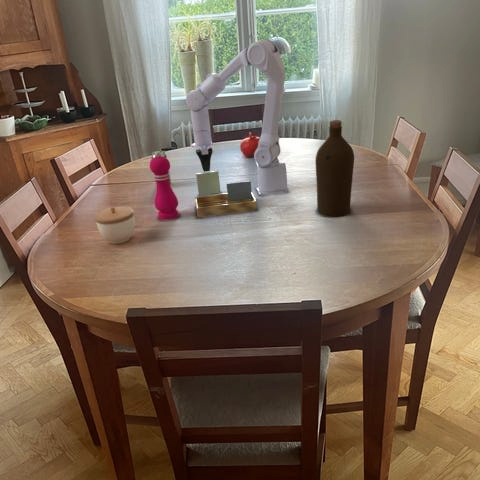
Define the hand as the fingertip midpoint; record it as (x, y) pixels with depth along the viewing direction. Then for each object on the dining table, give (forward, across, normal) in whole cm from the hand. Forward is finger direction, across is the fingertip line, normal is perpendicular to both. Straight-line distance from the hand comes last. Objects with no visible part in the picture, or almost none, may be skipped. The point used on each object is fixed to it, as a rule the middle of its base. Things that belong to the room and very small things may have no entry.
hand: (206, 170), depth 166 cm
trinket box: (+7, +36, -28) cm, 46 cm away
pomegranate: (+7, -38, +21) cm, 44 cm away
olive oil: (+6, +35, +35) cm, 50 cm away
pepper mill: (+7, +23, -14) cm, 28 cm away
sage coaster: (+6, +6, 0) cm, 9 cm away
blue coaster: (+6, +22, +9) cm, 24 cm away
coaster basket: (+6, +22, +4) cm, 23 cm away
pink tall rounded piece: (+7, -10, -16) cm, 20 cm away
